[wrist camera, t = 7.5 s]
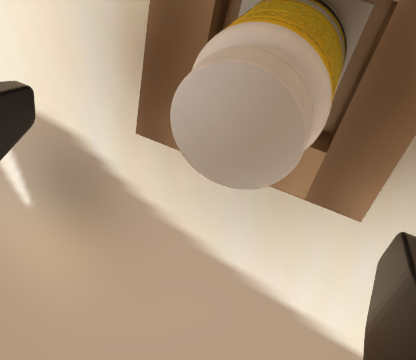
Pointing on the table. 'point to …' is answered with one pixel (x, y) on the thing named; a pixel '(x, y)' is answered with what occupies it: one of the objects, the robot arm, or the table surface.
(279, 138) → the supplement bottle
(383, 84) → the holder
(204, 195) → the table surface
